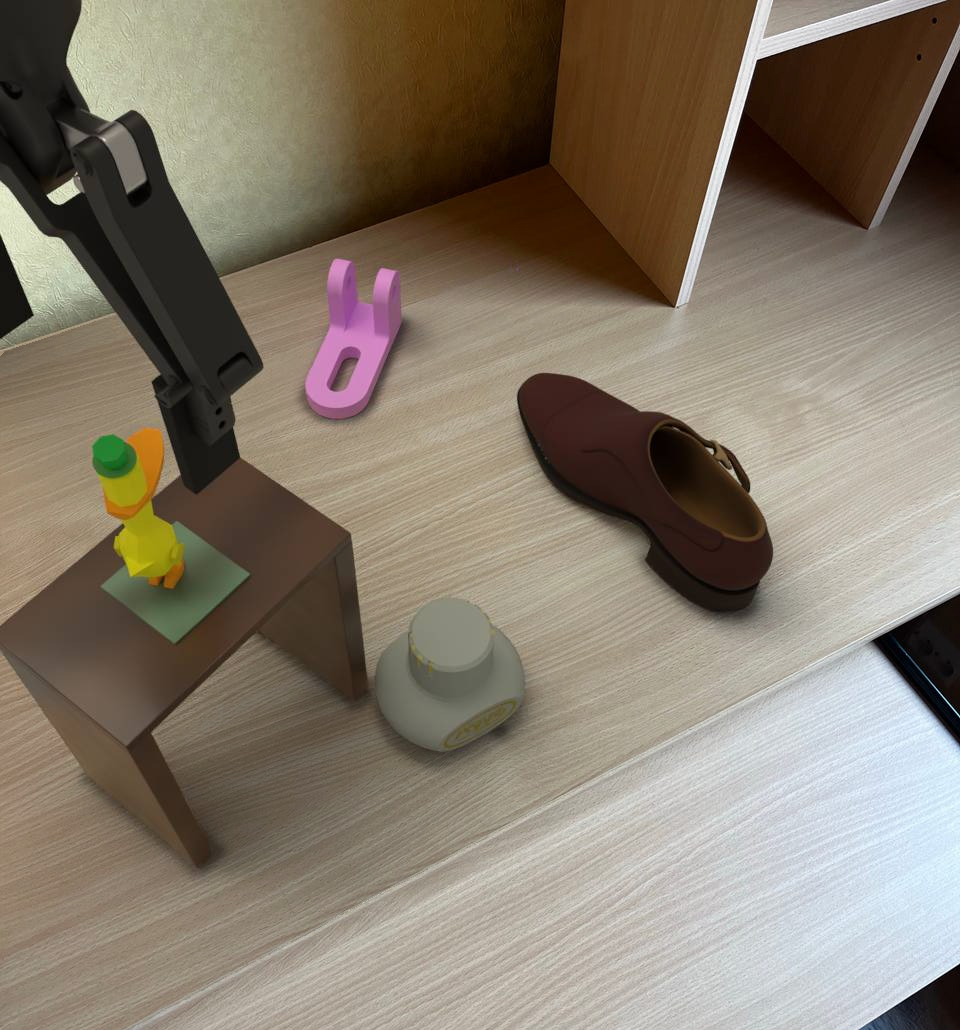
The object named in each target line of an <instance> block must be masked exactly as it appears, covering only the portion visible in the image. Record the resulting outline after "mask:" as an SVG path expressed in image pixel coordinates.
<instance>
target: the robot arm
mask: <svg viewBox="0 0 960 1030" xmlns="http://www.w3.org/2000/svg"><path fill="white" fill-rule="evenodd" d="M82 5H83V0H0V183H2V184H3V185H4V186H5V187H6V188H7V189H8V190H9V192H11V194H12V195H13V197H14V198H15V199H16V200H17V202H18V204H19V205H20V206H21V207H22V209H23V211H24V212H25V213H26V214H27V216H28V217H29V219H30V220H31V221H32V222H33V224H34V225H35V227H36V228H37V229H38V230H39V231H40V232H41V234H43V235H45V236H47V237H48V238H58V239H61V241H63V242H64V244H65V245H66V247H67V248H68V249H69V251H70V252H71V253H72V255H73V256H74V258H75V259H76V260H77V261H78V263H79V264H80V265H81V267H82V268H83V270H84V271H85V273H86V274H87V275H88V277H89V278H90V280H91V281H92V282H93V283H94V285H95V286H96V288H97V289H98V291H99V292H100V293H101V294H102V296H103V297H104V299H105V300H106V301H107V303H108V304H109V306H110V307H111V309H112V310H113V311H114V312H115V314H116V315H117V317H118V318H119V319H120V320H121V322H122V323H123V325H124V326H125V327H126V329H127V330H128V331H129V333H130V334H131V336H132V337H133V338H134V340H135V341H136V343H137V344H138V345H139V347H140V348H141V349H142V351H143V352H144V353H145V355H146V356H147V358H148V359H149V361H150V362H151V363H152V364H153V366H154V367H155V369H156V370H157V372H158V373H159V375H158V376H156V377H155V378H154V379H152V381H151V382H150V383H151V385H152V386H151V387H152V389H153V392H154V395H153V397H154V398H155V399H156V402H157V404H158V408H159V411H160V414H161V417H162V420H163V423H164V427H165V430H166V433H167V436H168V440H169V442H170V446H171V449H172V452H173V455H174V458H175V462H176V464H177V468H178V470H179V475H181V478H182V481H183V484H184V486H185V487H186V488H187V489H189V490H190V491H192V492H193V493H194V494H196V495H197V494H198V493H200V492H201V491H202V490H203V489H204V488H205V487H207V486H208V485H209V484H210V483H211V482H212V481H214V480H215V479H216V478H217V477H218V476H219V475H221V474H222V473H223V472H224V471H225V470H227V469H228V468H229V467H230V466H231V465H232V464H234V463H235V462H236V461H237V460H238V459H239V458H240V457H241V454H240V450H239V446H238V441H237V438H236V437H237V436H236V432H235V429H234V427H235V425H236V415H235V411H234V406H233V404H232V396H233V395H234V394H235V393H237V391H238V390H240V389H241V388H243V387H244V386H245V385H246V384H248V383H249V382H250V381H251V380H252V379H254V378H255V377H256V376H258V374H260V373H261V372H262V371H263V369H264V362H263V359H262V357H261V355H260V353H259V352H258V350H257V347H256V346H255V344H254V342H253V340H252V338H251V336H250V334H249V332H248V331H247V329H246V327H245V324H244V323H243V321H242V319H241V317H240V315H239V313H238V311H237V310H236V307H235V305H234V303H233V302H232V300H231V298H230V295H229V294H228V292H227V289H226V288H225V286H224V285H223V283H222V280H221V279H220V277H219V275H218V273H217V271H216V269H215V267H214V265H213V263H212V262H211V260H210V257H209V256H208V253H207V252H206V250H205V248H204V246H203V244H202V242H201V241H200V238H199V236H198V235H197V232H196V231H195V228H194V227H193V225H192V223H191V221H190V219H189V217H188V215H187V213H186V212H185V210H184V208H183V206H182V203H181V202H180V200H179V198H178V197H177V195H176V192H175V191H174V188H173V187H172V185H171V183H170V180H169V178H168V174H167V171H166V168H165V165H164V162H163V158H162V156H161V152H160V149H159V145H158V143H157V140H156V136H155V133H154V132H153V128H152V126H151V125H150V124H149V121H147V119H146V118H145V117H144V116H143V115H142V114H141V113H140V112H138V111H137V110H135V109H129V110H128V111H127V112H124V113H123V114H122V115H121V116H119V117H117V118H115V119H114V120H112V121H109V120H107V119H105V118H102V117H100V116H98V115H96V114H94V113H92V112H91V110H90V107H89V104H88V103H87V101H86V99H85V98H84V96H83V93H82V92H81V91H80V88H79V87H78V85H77V83H76V81H75V79H74V77H73V75H72V73H71V70H70V68H69V66H68V63H67V60H68V59H67V58H68V54H69V49H70V45H71V41H72V38H73V35H74V33H75V31H76V28H77V25H78V23H79V20H80V17H81V13H82ZM72 180H73V184H74V186H75V188H76V189H77V190H78V191H79V193H77V194H75V195H74V196H72V197H70V198H69V199H68V200H67V201H65V202H63V203H60V204H58V203H54V202H53V201H52V200H51V199H50V198H49V196H48V195H50V194H52V192H53V193H54V191H56V190H57V189H59V188H61V187H62V186H64V185H66V184H67V183H69V182H70V181H72ZM34 316H35V314H34V311H33V309H32V307H31V304H30V302H29V299H28V297H27V295H26V292H25V290H24V288H23V285H22V281H21V280H20V277H19V275H18V273H17V271H16V268H15V266H14V263H13V261H12V258H11V256H10V254H9V252H8V248H7V246H6V244H5V242H4V240H3V237H2V234H1V233H0V340H2V339H3V338H4V337H6V336H7V335H8V334H10V333H11V332H13V331H14V330H16V329H17V328H19V327H20V326H22V325H23V324H25V323H26V322H28V321H29V320H30V319H32V318H33V317H34Z"/></svg>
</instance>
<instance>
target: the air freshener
mask: <svg viewBox="0 0 960 1030" xmlns="http://www.w3.org/2000/svg"><path fill="white" fill-rule="evenodd" d="M525 677H526V676H525V668H524V665H523V662H522V658H521V656H520V654H519V652H518V650H517V648H516V647H515V645H514V644H513V642H512V641H511V640H510V638H509V637H508V636H507V635H506V634H505V633H504V632H503V631H502V630H501V629H499V627H497V626H495V625H494V624H493V622H492V621H491V620H490V616H489V615H488V613H487V612H485V611H484V610H483V609H482V608H481V607H480V606H479V605H477V604H476V603H472V602H470V601H469V600H467V599H464V598H459V597H442V598H438V599H434V600H432V601H430V602H428V603H426V604H425V605H423V606H422V607H421V608H419V609H418V610H417V611H416V613H414V615H413V617H412V619H410V623H409V626H408V630H407V631H405V632H404V633H402V634H401V635H399V636H398V637H397V638H395V639H393V641H392V642H390V644H388V645H387V646H386V647H385V649H383V650H382V652H381V654H379V658H378V660H377V662H376V666H375V674H374V691H375V696H376V701H377V704H378V706H379V708H380V711H381V713H382V715H383V717H384V718H385V720H386V721H387V722H388V724H389V725H390V726H391V727H392V728H393V729H394V731H395V732H396V733H397V734H399V735H400V736H401V737H403V738H404V739H406V740H407V741H409V742H411V743H412V744H415V745H417V746H418V747H421V748H424V749H427V750H431V751H437V752H440V753H441V752H443V753H444V752H449V751H453V750H455V749H458V748H461V747H463V746H466V745H467V744H469V743H472V742H473V741H476V740H478V739H479V738H481V737H482V736H485V735H486V734H488V733H489V732H491V731H492V730H494V729H495V728H497V727H498V726H500V725H501V724H502V723H504V722H505V721H506V720H507V719H509V718H510V717H511V716H512V715H513V714H514V713H515V712H516V711H517V710H518V709H519V708H520V707H521V705H522V703H523V699H524V696H525V690H526V678H525Z"/></svg>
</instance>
